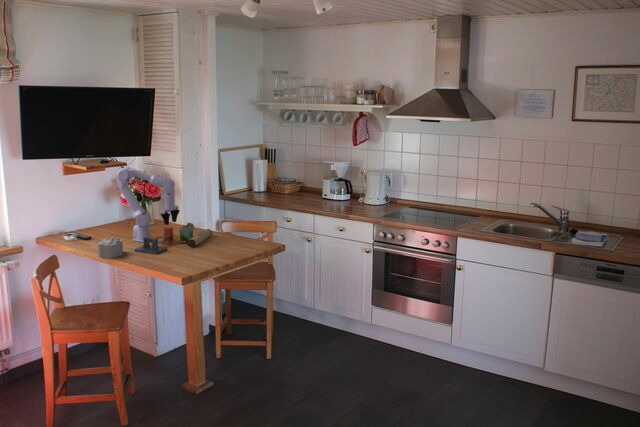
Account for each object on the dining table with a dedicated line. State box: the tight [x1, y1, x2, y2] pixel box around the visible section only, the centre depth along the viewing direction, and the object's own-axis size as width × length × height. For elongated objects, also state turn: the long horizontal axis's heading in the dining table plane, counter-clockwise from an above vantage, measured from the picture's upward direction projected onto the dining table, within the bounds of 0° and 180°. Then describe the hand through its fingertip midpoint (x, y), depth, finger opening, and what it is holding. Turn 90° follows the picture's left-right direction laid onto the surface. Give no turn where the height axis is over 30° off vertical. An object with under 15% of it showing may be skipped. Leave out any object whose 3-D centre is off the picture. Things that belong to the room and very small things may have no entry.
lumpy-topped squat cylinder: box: [97, 236, 124, 259], centre depth 320 cm, size 10×13×9 cm
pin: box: [158, 226, 174, 244], centre depth 339 cm, size 14×4×8 cm, turn 160°
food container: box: [178, 222, 195, 245], centre depth 348 cm, size 12×6×10 cm, turn 168°
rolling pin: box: [186, 228, 213, 248], centre depth 349 cm, size 32×6×5 cm, turn 167°
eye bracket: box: [134, 237, 168, 255], centre depth 329 cm, size 10×14×7 cm
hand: (170, 223), depth 348 cm, fingers open, 7 cm apart
